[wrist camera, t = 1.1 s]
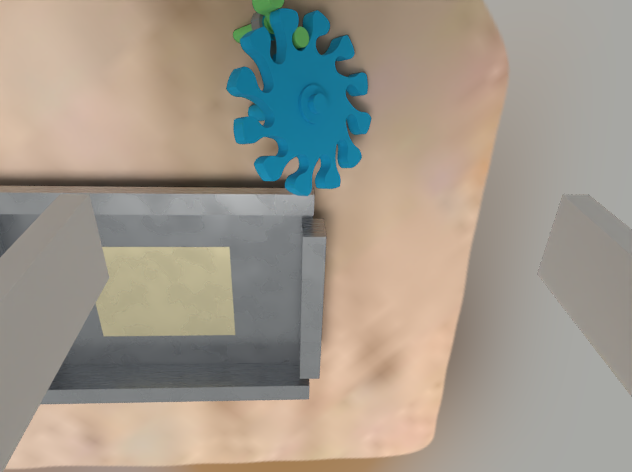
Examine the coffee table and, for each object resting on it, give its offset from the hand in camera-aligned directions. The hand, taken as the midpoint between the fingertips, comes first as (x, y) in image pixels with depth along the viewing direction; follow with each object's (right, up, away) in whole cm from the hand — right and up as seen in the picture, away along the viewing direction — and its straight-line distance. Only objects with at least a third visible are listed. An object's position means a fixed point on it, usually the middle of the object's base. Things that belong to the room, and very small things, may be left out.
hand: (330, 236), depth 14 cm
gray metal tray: (-12, -3, +23) cm, 26 cm away
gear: (-1, +10, +16) cm, 19 cm away
